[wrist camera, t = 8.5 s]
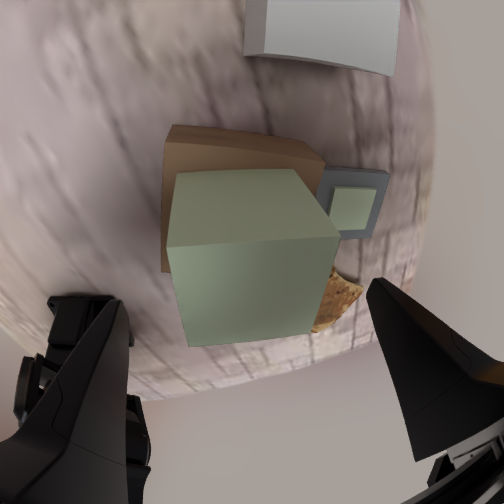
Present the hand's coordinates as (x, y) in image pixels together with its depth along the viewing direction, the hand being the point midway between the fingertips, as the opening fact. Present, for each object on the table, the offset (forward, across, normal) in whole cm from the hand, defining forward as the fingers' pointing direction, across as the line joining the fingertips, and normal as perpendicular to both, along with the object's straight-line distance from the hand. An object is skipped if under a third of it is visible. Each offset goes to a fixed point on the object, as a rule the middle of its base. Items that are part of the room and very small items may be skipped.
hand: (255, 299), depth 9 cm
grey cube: (+8, -3, -10) cm, 13 cm away
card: (+8, -7, +1) cm, 11 cm away
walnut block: (+8, 0, 0) cm, 9 cm away
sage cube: (+5, 0, 0) cm, 5 cm away
